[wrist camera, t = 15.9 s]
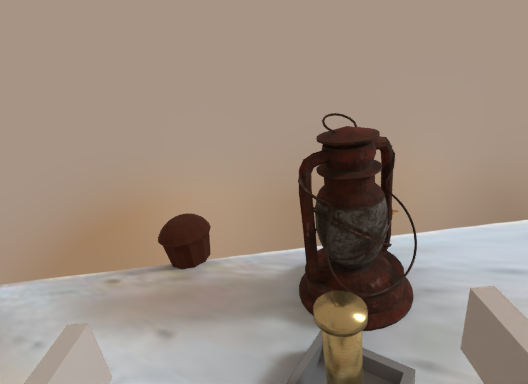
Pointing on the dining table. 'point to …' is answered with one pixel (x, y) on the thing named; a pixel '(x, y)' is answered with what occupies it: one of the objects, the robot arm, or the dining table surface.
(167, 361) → the dining table surface
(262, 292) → the dining table surface
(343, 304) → the lock pin
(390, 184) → the lantern
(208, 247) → the muffin
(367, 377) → the tray
